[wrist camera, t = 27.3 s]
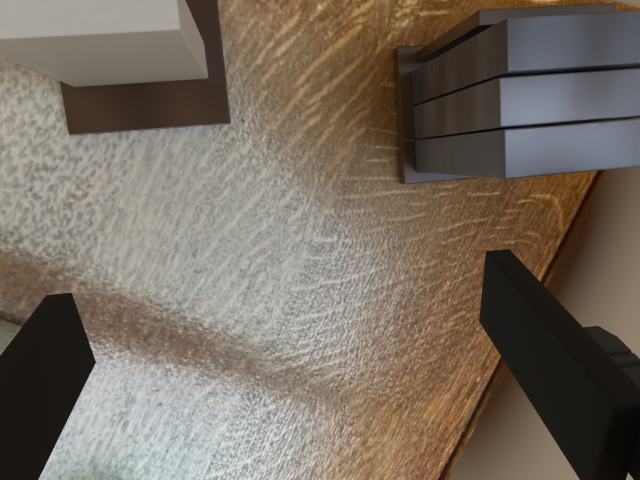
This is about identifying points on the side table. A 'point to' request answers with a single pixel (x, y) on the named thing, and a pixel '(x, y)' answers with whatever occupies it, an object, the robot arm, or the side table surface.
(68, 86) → the beige and brown bookend
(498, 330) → the robot arm
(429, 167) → the grey rack
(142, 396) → the side table surface
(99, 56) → the white book
